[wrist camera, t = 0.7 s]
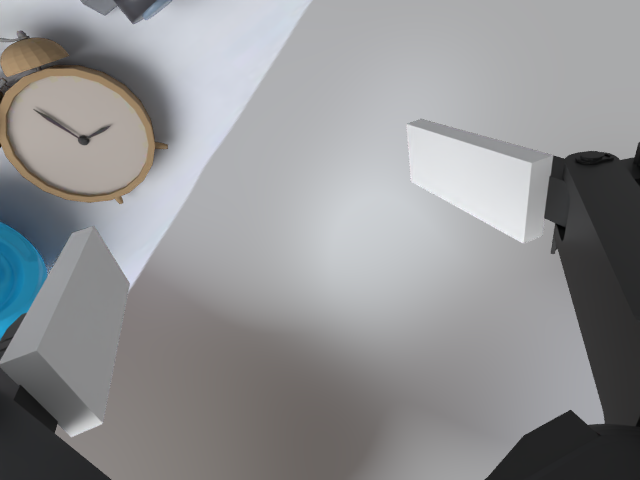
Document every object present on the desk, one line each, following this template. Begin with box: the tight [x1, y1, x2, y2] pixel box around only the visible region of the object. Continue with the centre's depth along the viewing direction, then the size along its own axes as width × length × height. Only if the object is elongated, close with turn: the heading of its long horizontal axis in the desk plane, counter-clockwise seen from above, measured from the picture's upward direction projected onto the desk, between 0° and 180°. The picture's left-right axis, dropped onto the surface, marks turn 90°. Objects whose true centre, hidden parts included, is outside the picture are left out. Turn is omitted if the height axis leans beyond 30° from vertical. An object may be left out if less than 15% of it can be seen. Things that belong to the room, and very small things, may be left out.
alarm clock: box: [0, 31, 168, 204], centre depth 31 cm, size 11×5×15 cm
